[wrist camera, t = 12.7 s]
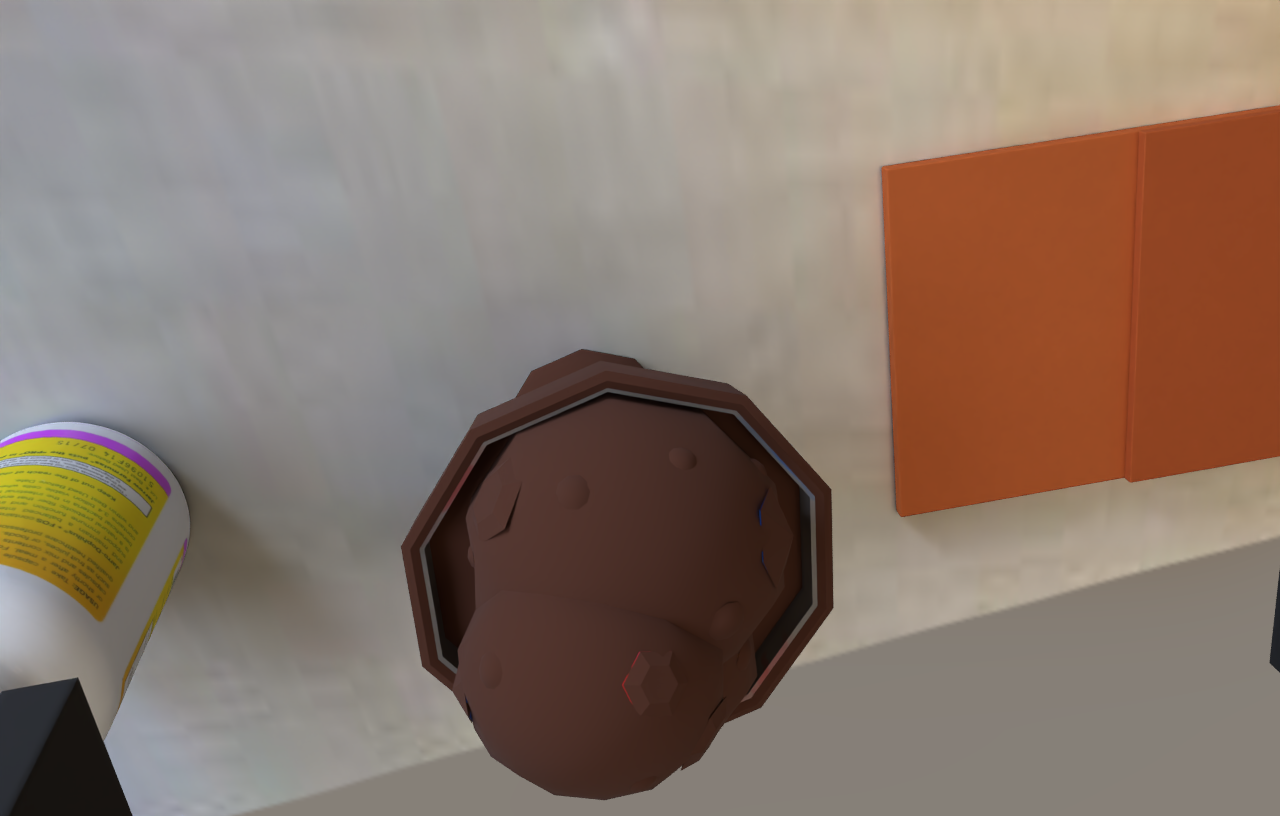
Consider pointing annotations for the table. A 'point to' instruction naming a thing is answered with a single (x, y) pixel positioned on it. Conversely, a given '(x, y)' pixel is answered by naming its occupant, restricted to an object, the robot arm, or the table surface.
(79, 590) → the supplement bottle
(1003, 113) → the table surface
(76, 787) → the robot arm
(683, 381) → the ice cream bowl
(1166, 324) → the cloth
